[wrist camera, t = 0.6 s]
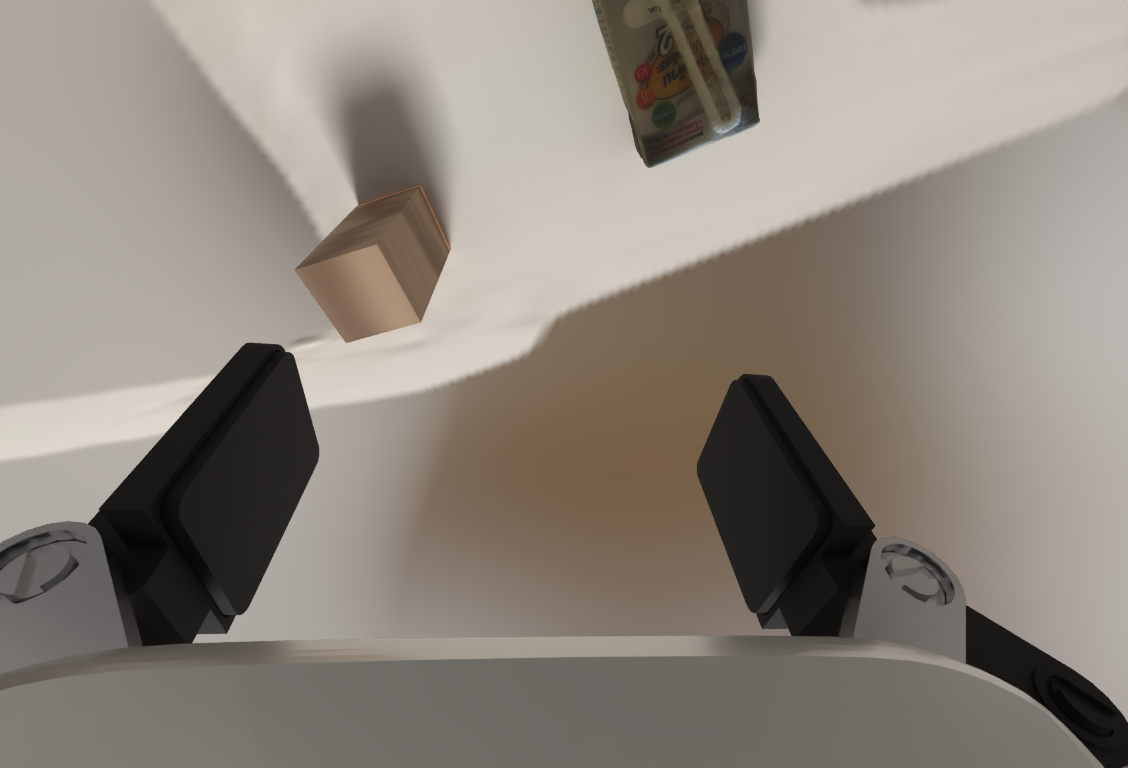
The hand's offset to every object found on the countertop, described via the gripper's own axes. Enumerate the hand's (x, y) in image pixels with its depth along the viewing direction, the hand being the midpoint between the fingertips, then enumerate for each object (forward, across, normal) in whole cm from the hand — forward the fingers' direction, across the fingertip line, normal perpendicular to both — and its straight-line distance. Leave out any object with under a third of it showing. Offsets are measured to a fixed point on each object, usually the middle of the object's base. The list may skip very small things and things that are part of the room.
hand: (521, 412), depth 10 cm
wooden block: (+31, +9, +8) cm, 34 cm away
